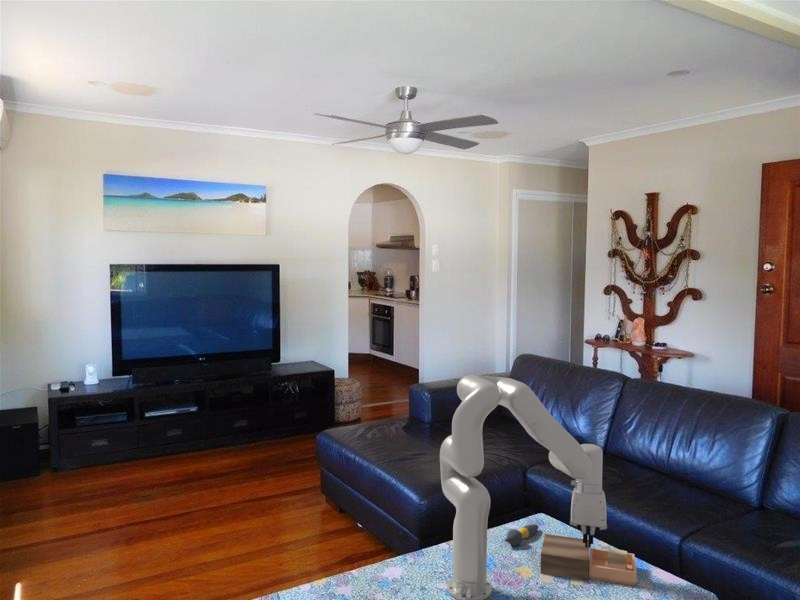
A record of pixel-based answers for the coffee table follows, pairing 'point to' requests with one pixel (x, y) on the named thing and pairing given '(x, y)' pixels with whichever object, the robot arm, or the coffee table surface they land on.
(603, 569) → the tray
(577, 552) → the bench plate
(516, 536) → the paintbrush
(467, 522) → the robot arm
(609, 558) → the beech block
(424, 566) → the coffee table surface
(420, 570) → the coffee table surface
